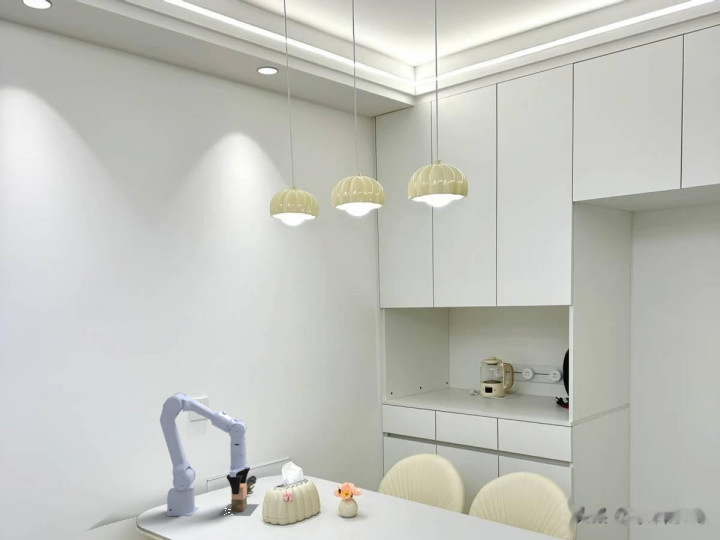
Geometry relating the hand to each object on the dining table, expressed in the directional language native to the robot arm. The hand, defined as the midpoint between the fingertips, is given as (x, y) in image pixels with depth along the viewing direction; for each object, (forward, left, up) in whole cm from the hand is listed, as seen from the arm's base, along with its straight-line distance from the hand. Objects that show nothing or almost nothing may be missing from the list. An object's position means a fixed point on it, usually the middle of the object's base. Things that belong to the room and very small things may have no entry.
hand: (238, 490), depth 227 cm
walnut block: (0, 0, -7) cm, 7 cm away
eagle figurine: (-2, +19, -8) cm, 21 cm away
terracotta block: (0, 0, -2) cm, 3 cm away
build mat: (0, 0, -7) cm, 7 cm away
